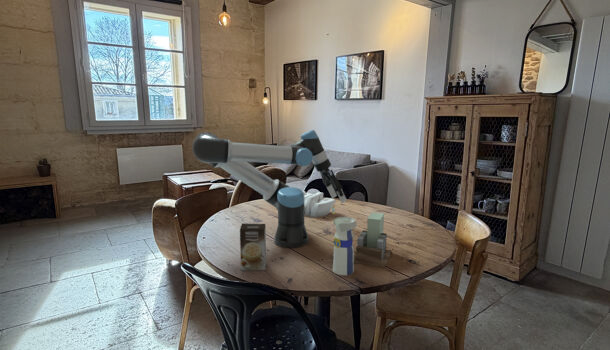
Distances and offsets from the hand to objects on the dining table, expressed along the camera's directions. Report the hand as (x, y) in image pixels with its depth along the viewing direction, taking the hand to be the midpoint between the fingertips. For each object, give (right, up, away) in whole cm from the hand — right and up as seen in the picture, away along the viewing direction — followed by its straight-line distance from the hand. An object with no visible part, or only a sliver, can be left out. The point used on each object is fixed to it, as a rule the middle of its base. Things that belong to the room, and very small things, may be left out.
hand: (339, 199), depth 165 cm
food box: (-36, -23, -40) cm, 58 cm away
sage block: (+12, -18, -27) cm, 34 cm away
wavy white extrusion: (-17, -9, +30) cm, 36 cm away
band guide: (+10, -21, -32) cm, 39 cm away
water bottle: (-3, -23, -43) cm, 49 cm away
